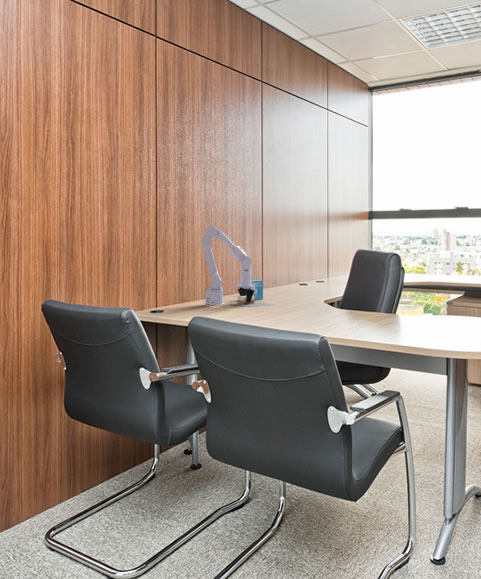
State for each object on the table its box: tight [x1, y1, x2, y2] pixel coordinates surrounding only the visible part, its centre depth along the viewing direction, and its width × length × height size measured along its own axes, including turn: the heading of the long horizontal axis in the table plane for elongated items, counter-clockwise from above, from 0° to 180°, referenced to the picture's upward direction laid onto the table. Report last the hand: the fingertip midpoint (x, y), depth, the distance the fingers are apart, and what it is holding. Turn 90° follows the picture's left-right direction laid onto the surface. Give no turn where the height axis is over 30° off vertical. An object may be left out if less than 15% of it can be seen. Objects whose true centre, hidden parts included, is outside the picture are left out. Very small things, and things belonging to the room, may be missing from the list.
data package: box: [244, 279, 264, 301], centre depth 328 cm, size 12×4×12 cm, turn 120°
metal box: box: [237, 295, 255, 304], centre depth 310 cm, size 8×5×4 cm, turn 125°
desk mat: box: [233, 301, 274, 308], centre depth 307 cm, size 18×17×1 cm
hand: (246, 301), depth 310 cm, fingers closed on metal box, 5 cm apart
